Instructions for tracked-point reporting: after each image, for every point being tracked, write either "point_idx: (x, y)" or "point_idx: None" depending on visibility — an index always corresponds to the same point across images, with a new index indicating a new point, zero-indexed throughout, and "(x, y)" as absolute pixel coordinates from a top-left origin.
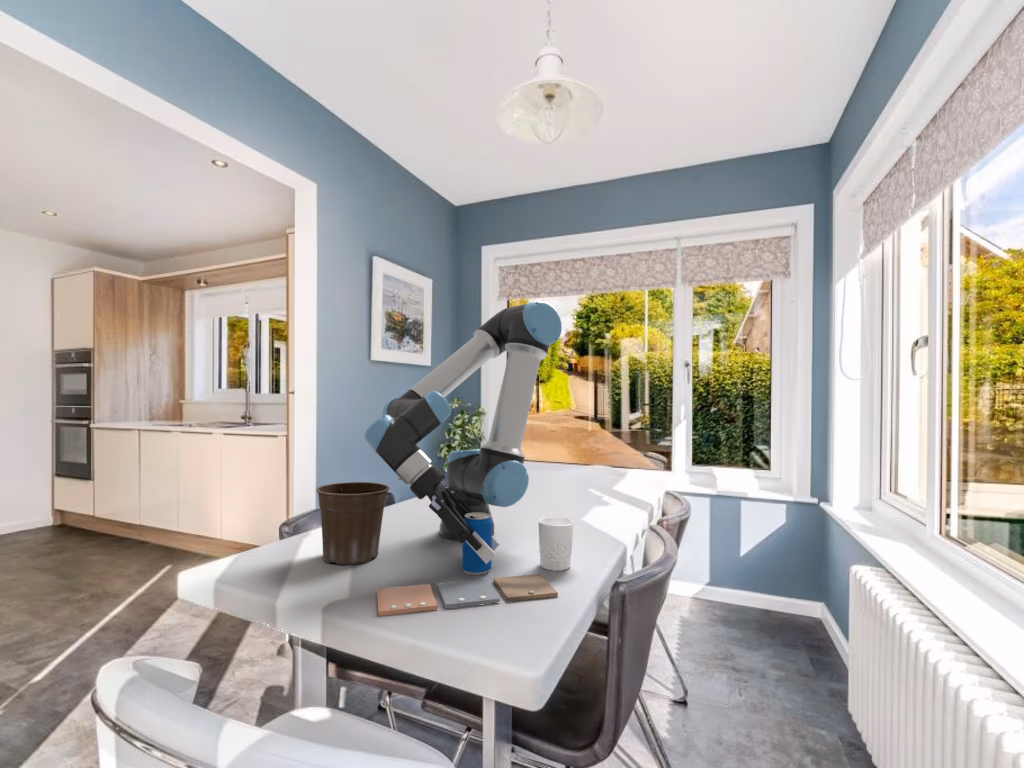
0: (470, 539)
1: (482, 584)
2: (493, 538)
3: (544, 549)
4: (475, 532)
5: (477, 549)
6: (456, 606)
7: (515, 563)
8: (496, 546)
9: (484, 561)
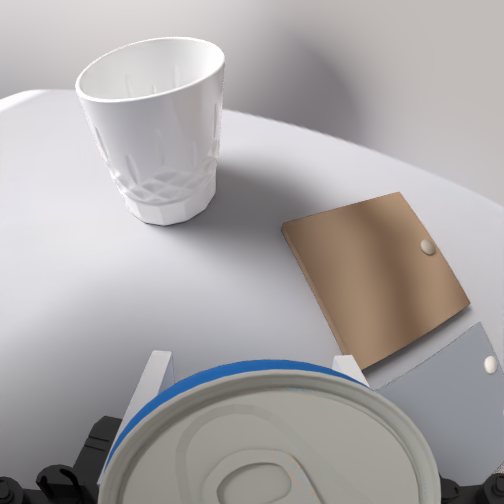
0: None
1: (417, 396)
2: (157, 380)
3: (197, 169)
4: None
5: None
6: None
7: (142, 308)
8: (171, 369)
9: None
